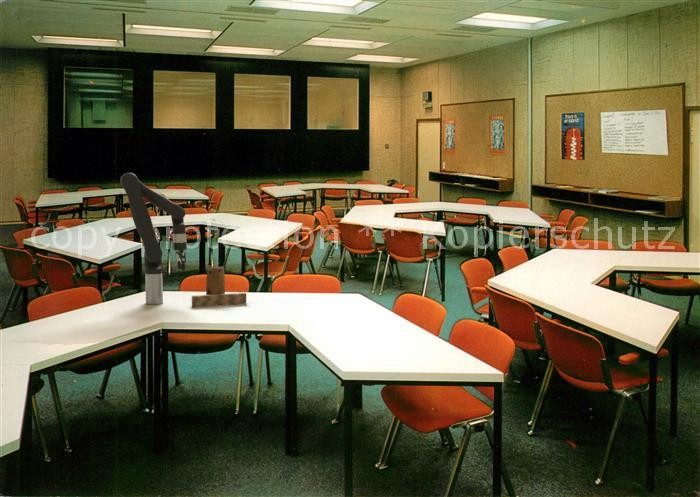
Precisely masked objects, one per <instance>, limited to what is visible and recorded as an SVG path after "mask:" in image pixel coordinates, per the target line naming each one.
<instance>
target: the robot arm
mask: <svg viewBox="0 0 700 497" xmlns="http://www.w3.org/2000/svg"><path fill="white" fill-rule="evenodd" d="M119 182H120V185H121V187H122V188H123V189H124V191H125V194H126V196H127V199H128V204H129V209H130V214H131V217H132V220H133V224H134V227H135V228H136V230H137V232H138V234H139V236H140V238H141V241H142V243H143V247H144V252H143V253H144V254H143V255H144V259H143V260H144V261H143V262H144V273H145V277H144V278H145V287H144V289H145V304H146V305H160V304H163V303H164V301H163V300H164V296H163V295H164V294H163V293H164V291H163V290H164V289H163V267H162V257H163V251H162V249H161V247H160V244H159V242H158V240H157V237H156V233H155V230H154V228H155V227H154V224H153V221H152V218H151V215H150V212H149V209H148V206H147V204H146V203H145V200H146V201H147V202H149V203H151V204H152V205H153V206H155V207H156V208H158V209H159V210H161V211H163V212H165V213H167V214H169V215H170V216H171V223H172V244H173V245H172V250H174V251H175V261H176V264H177V265H176V266H177V269H178V270H181V271H185V270H186V263H187V256H186V252H185V251H186V250H188V245H187V244H188V243H187V235H186V224H185V222H184V221H185V220H184V218H185V217H186V210H185V208H183V207H182V206H180V205H178V204H176V203H174V202H173V201H171V200H170V199H168V198H167V197H165V196H164V195H163V194H161V193H159V192H157V191H155V190H153V189H151V188H149V186H146V185H145V184H144V183H143V182H142V181H140V180H139V178H138V176H137V175H136V174H134V173H133V172H127V173H124V174H122V175H121V176H120V179H119ZM144 199H145V200H144Z"/></svg>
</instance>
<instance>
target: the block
mask: <svg viewBox="0 0 700 497" xmlns="http://www.w3.org/2000/svg"><path fill="white" fill-rule="evenodd" d="M206 271H207V272H206V278H205V281H206V282H205V295H213V294H226V280H225V279H226V277H225V276H226V274H225V267H224V266H217V265H215V266H210V267H209V268H208V269H207V270H206Z"/></svg>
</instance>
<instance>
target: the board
mask: <svg viewBox="0 0 700 497" xmlns="http://www.w3.org/2000/svg"><path fill="white" fill-rule="evenodd" d="M234 305H247V293H246V292H236V293H234V292H233V293H232V292H231V293H225V294H213V295H206V294H198V295H195V294H194V295H191V307H192V308H201V307H202V308H203V307H217V306H218V307H219V306H234Z"/></svg>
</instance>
